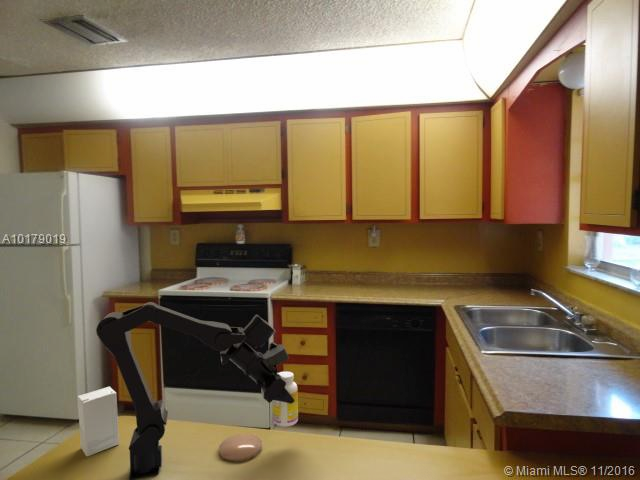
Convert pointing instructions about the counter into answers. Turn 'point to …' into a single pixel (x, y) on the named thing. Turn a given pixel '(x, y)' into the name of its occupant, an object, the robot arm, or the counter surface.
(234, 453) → the terracotta round disc
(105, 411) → the skincare box
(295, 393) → the supplement bottle
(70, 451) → the counter surface
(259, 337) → the robot arm
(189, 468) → the counter surface
